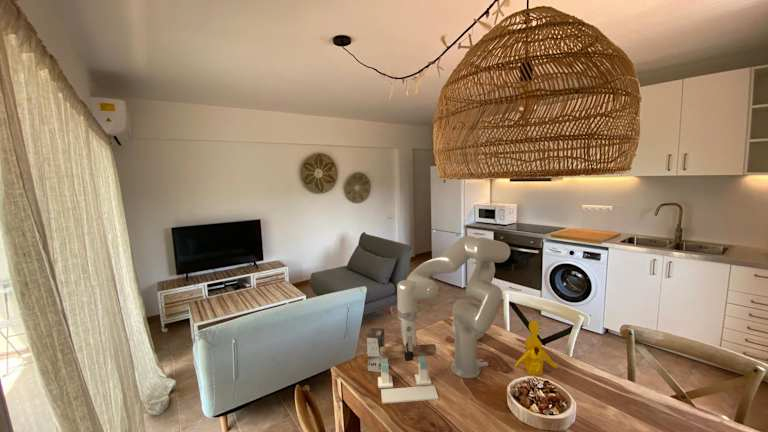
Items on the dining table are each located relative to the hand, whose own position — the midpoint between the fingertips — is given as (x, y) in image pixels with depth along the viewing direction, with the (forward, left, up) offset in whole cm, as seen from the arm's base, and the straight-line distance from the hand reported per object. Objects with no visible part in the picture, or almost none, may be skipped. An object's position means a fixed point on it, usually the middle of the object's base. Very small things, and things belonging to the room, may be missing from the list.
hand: (408, 357), depth 121 cm
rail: (0, 0, +1) cm, 1 cm away
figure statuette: (-56, -9, -17) cm, 59 cm away
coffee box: (+12, -20, -17) cm, 29 cm away
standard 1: (+9, -8, -16) cm, 20 cm away
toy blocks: (-7, -8, -16) cm, 20 cm away
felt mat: (0, 0, -16) cm, 16 cm away
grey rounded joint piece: (-37, -39, -17) cm, 56 cm away
